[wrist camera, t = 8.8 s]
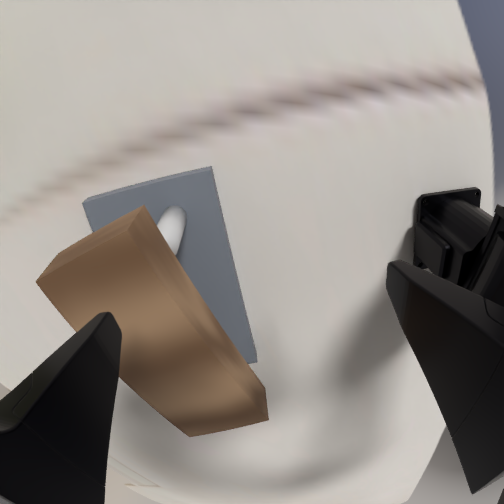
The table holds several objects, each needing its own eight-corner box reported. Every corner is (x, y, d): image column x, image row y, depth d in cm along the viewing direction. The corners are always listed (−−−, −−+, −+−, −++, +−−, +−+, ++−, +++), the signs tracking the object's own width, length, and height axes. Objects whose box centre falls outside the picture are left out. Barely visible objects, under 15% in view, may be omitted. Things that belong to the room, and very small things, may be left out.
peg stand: (87, 197, 20) (54, 228, 15) (211, 166, 19) (205, 190, 15) (163, 365, 28) (155, 408, 23) (256, 354, 28) (260, 398, 23)
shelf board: (265, 387, 22) (268, 420, 20) (191, 406, 23) (189, 437, 21) (144, 204, 15) (126, 230, 12) (58, 253, 16) (35, 281, 13)
